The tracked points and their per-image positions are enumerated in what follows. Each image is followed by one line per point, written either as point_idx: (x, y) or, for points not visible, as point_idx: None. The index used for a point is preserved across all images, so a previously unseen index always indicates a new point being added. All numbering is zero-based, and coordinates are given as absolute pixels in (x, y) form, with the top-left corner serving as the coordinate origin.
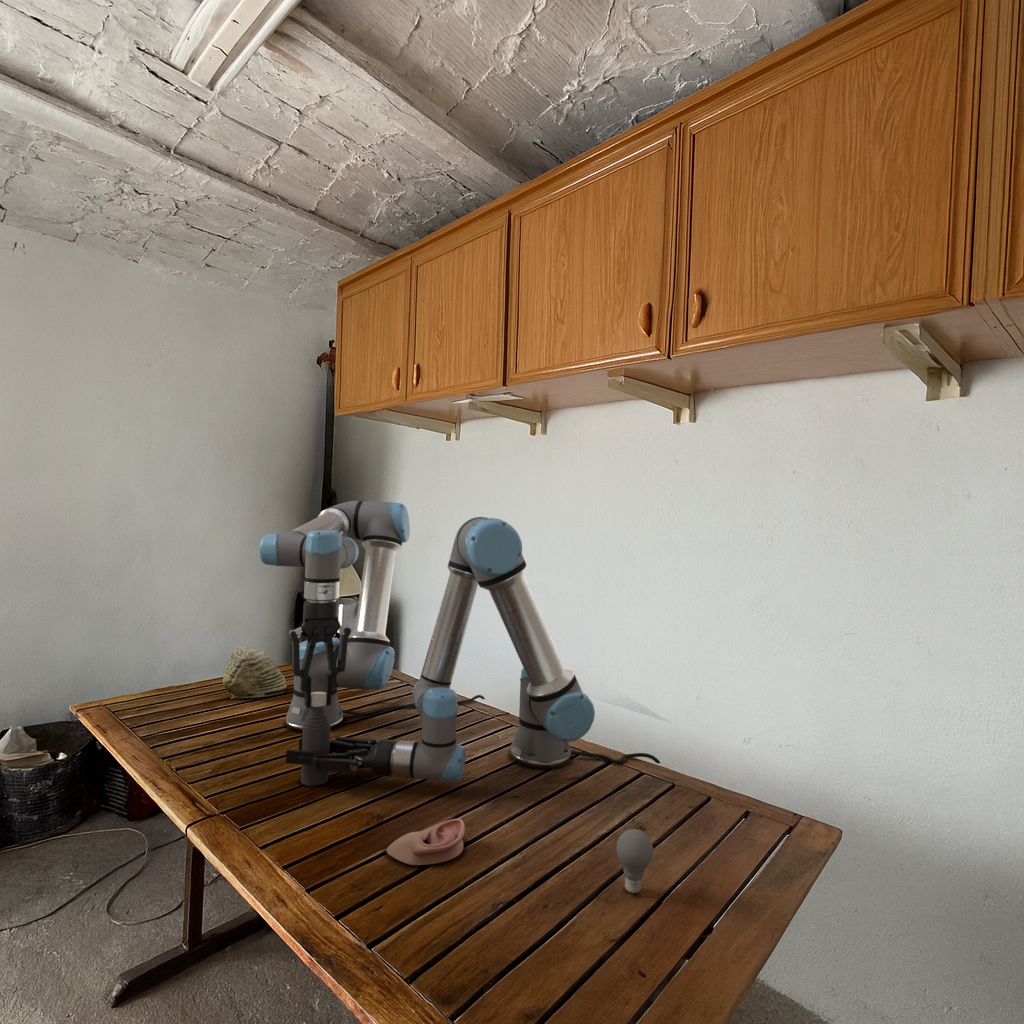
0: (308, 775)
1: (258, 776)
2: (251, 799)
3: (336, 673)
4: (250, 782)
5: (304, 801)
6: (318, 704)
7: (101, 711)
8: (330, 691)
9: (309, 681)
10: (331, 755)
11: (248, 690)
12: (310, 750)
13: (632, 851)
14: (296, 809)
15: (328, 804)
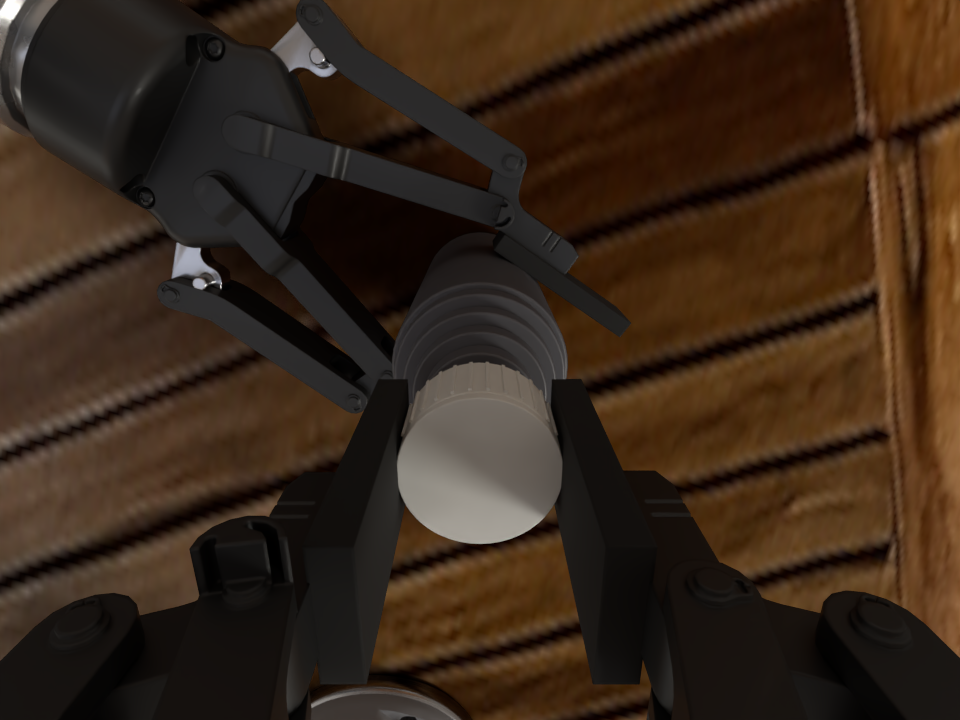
0: None
1: (663, 399)
2: (738, 214)
3: (216, 568)
4: (702, 361)
5: (560, 105)
6: (489, 370)
7: None
8: (360, 437)
9: (623, 516)
10: (428, 174)
11: None
12: (521, 270)
13: None
14: (607, 42)
15: (476, 30)
